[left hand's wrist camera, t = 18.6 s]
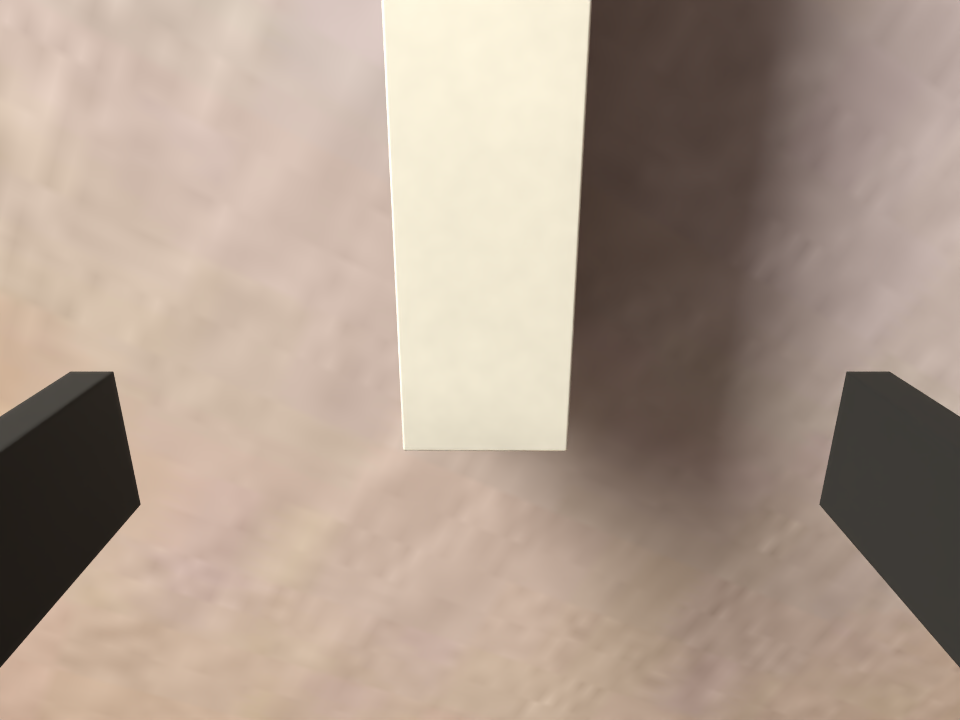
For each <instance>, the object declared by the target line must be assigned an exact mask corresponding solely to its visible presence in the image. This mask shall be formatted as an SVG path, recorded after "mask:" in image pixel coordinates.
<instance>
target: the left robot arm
mask: <svg viewBox="0 0 960 720" xmlns="http://www.w3.org/2000/svg"><path fill="white" fill-rule="evenodd" d="M140 505H141V504H140V500H139V495H138V490H137V485H136V480H135V475H134V470H133V465H132V460H131V456H130V451H129V446H128V441H127V436H126V431H125V426H124V421H123V417H122V412H121V407H120V402H119V397H118V392H117V387H116V382H115V377H114V373H113V372H69V373H68V374H66V375H65V376H63V377H62V378H60V379H58V380H57V381H55V382H54V383H52V384H51V385H49V386H47V387H46V388H44V389H43V390H41V391H40V392H38V393H36V394H35V395H33V396H32V397H30V398H29V399H27V400H26V401H24V402H22V403H21V404H19V405H18V406H16V407H15V408H13V409H11V410H10V411H8V412H7V413H5V414H4V415H2V416H1V417H0V667H1V666H2V665H3V664H4V663H5V661H6V660H7V659H8V658H9V657H10V656H11V654H12V653H13V652H14V651H15V650H16V649H17V647H18V646H19V645H20V644H21V643H22V642H23V641H24V639H25V638H26V637H27V636H28V635H29V634H30V632H31V631H32V630H33V629H34V628H35V627H36V625H37V624H38V623H39V622H40V621H41V620H42V618H43V617H44V616H45V615H46V614H47V613H48V611H49V610H50V609H51V608H52V607H53V606H54V604H55V603H56V602H57V601H58V600H59V599H60V598H61V596H62V595H63V594H64V593H65V592H66V591H67V589H68V588H69V587H70V586H71V585H72V584H73V582H74V581H75V580H76V579H77V578H78V577H79V575H80V574H81V573H82V572H83V571H84V570H85V568H86V567H87V566H88V565H89V564H90V563H91V561H92V560H93V559H94V558H95V557H96V556H97V555H98V553H99V552H100V551H101V550H102V549H103V548H104V546H105V545H106V544H107V543H108V542H109V541H110V539H111V538H112V537H113V536H114V535H115V534H116V532H117V531H118V530H119V529H120V528H121V527H122V525H123V524H124V523H125V522H126V521H127V520H128V518H129V517H130V516H131V515H132V514H133V513H134V512H135V510H136V509H137V508H138V507H139V506H140ZM819 505H820V506H821V507H822V508H823V509H824V510H825V512H826V513H827V514H828V515H829V516H830V517H831V518H832V520H833V521H834V522H835V523H836V524H837V525H838V527H839V528H840V529H841V530H842V531H843V532H844V534H845V535H846V536H847V537H848V538H849V539H850V541H851V542H852V543H853V544H854V545H855V546H856V548H857V549H858V550H859V551H860V552H861V553H862V555H863V556H864V557H865V558H866V559H867V560H868V561H869V563H870V564H871V565H872V566H873V567H874V568H875V570H876V571H877V572H878V573H879V574H880V575H881V577H882V578H883V579H884V580H885V581H886V582H887V584H888V585H889V586H890V587H891V588H892V589H893V591H894V592H895V593H896V594H897V595H898V596H899V598H900V599H901V600H902V601H903V602H904V603H905V604H906V606H907V607H908V608H909V609H910V610H911V611H912V613H913V614H914V615H915V616H916V617H917V618H918V620H919V621H920V622H921V623H922V624H923V625H924V627H925V628H926V629H927V630H928V631H929V632H930V634H931V635H932V636H933V637H934V638H935V639H936V641H937V642H938V643H939V644H940V645H941V646H942V647H943V649H944V650H945V651H946V652H947V653H948V654H949V656H950V657H951V658H952V659H953V660H954V661H955V663H956V664H957V665H958V666H959V667H960V417H959V416H958V415H956V414H955V413H953V412H952V411H950V410H949V409H947V408H945V407H944V406H942V405H941V404H939V403H938V402H936V401H934V400H933V399H931V398H930V397H928V396H927V395H925V394H924V393H922V392H920V391H919V390H917V389H916V388H914V387H913V386H911V385H909V384H908V383H906V382H905V381H903V380H902V379H900V378H898V377H897V376H895V375H894V374H892V373H891V372H847V373H846V377H845V382H844V387H843V392H842V397H841V402H840V407H839V412H838V417H837V421H836V426H835V431H834V436H833V441H832V446H831V451H830V456H829V460H828V465H827V470H826V475H825V480H824V485H823V490H822V495H821V500H820V504H819Z"/></svg>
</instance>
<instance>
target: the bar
mask: <svg viewBox="0 0 960 720" xmlns="http://www.w3.org/2000/svg"><path fill="white" fill-rule="evenodd" d="M591 6H592V0H382V18H383V39H384V59H385V80H386V101H387V121H388V142H389V163H390V183H391V204H392V225H393V245H394V266H395V287H396V307H397V328H398V349H399V369H400V390H401V411H402V432H403V449H404V450H419V451H566V450H567V443H568V424H569V406H570V388H571V370H572V352H573V334H574V315H575V297H576V279H577V261H578V243H579V224H580V206H581V188H582V170H583V152H584V133H585V115H586V97H587V79H588V61H589V43H590V24H591Z"/></svg>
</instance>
